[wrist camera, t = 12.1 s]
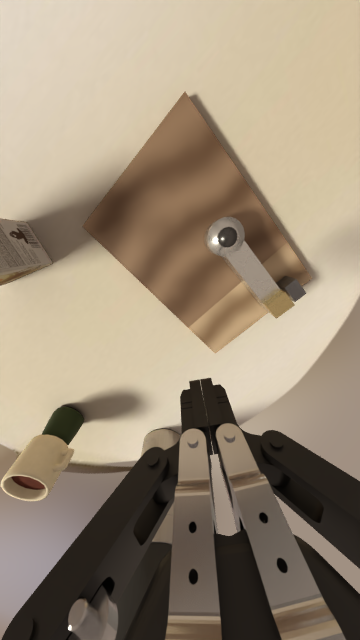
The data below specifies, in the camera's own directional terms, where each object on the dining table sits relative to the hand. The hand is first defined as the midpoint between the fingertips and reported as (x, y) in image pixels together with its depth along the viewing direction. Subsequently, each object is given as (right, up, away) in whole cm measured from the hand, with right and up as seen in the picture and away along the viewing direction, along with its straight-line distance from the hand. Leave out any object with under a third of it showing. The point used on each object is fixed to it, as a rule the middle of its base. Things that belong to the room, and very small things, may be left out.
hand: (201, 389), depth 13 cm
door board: (+2, +15, +15) cm, 21 cm away
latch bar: (+8, +13, +14) cm, 21 cm away
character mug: (-25, -16, +28) cm, 40 cm away
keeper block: (+15, +10, +16) cm, 24 cm away
